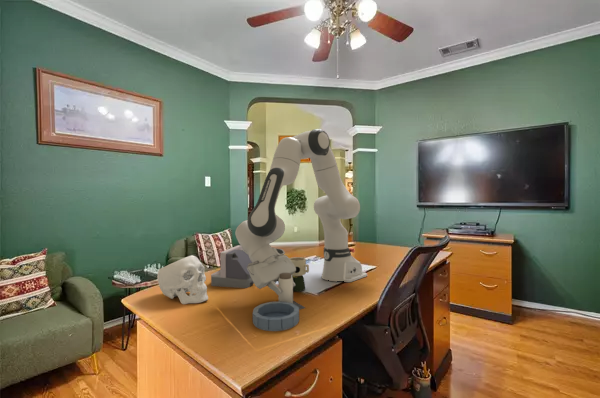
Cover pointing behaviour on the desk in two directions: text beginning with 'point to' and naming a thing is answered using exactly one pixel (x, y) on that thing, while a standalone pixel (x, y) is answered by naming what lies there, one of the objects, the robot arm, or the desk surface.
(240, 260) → the instant camera
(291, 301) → the salt mill
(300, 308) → the mat
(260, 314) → the bowl
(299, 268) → the character mug
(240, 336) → the desk surface
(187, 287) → the skull planter
